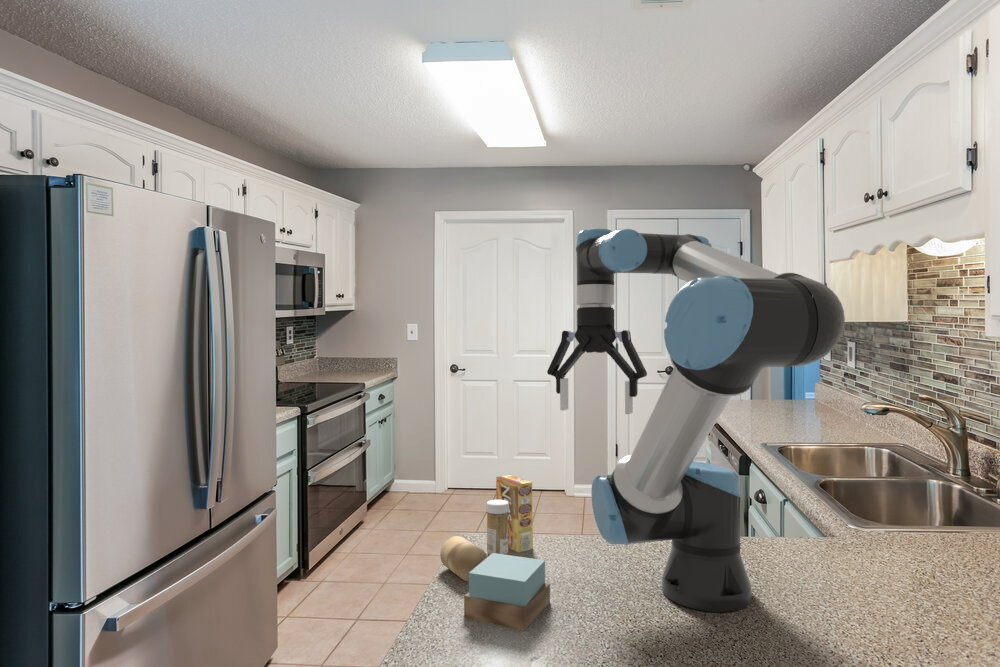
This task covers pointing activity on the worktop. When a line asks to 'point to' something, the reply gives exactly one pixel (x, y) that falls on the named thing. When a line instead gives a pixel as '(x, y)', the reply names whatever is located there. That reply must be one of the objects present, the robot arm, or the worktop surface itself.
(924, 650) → the worktop surface
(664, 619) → the worktop surface
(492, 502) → the sprinkles bottle
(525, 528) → the candy box
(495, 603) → the tower bottom
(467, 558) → the beige piece
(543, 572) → the tower top
